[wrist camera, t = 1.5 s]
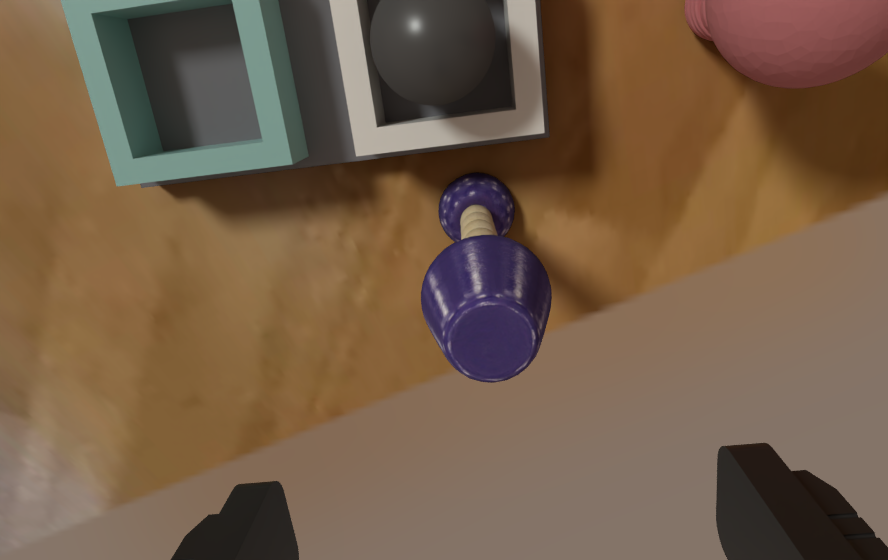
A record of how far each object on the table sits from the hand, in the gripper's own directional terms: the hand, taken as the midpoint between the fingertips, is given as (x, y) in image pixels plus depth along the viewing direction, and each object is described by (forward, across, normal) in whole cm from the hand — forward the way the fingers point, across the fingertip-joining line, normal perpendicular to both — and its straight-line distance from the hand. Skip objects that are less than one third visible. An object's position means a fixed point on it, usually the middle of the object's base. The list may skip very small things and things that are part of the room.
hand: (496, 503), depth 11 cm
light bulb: (+24, -13, -9) cm, 29 cm away
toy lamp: (+24, 0, 0) cm, 24 cm away
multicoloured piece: (+24, +7, -9) cm, 27 cm away
